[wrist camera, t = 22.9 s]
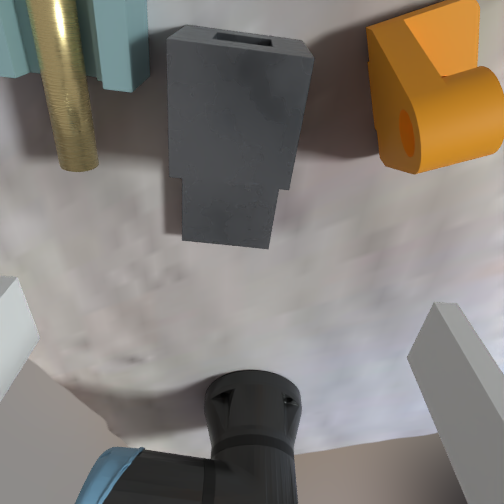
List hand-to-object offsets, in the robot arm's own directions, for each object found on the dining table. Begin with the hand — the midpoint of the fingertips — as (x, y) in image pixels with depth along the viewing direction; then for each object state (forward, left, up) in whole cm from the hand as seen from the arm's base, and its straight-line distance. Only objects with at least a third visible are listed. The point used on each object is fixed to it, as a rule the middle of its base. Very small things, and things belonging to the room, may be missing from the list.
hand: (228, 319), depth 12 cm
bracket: (+4, -14, -25) cm, 29 cm away
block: (-4, +1, -25) cm, 25 cm away
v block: (+5, +13, -25) cm, 28 cm away
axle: (+4, +13, -22) cm, 26 cm away
